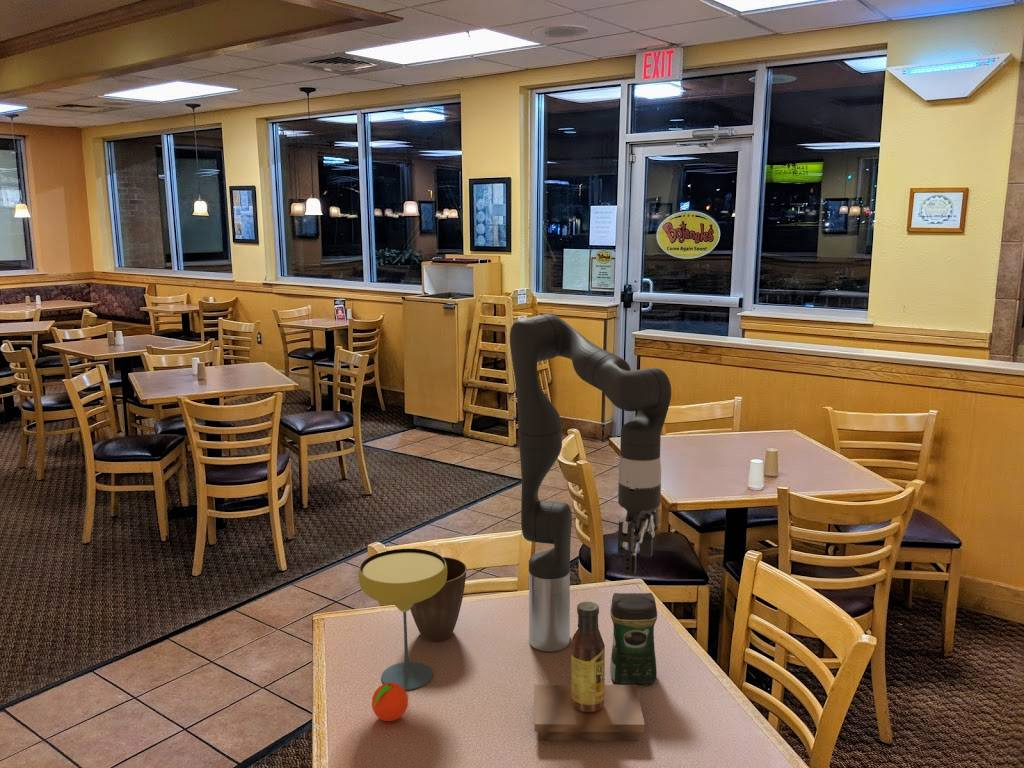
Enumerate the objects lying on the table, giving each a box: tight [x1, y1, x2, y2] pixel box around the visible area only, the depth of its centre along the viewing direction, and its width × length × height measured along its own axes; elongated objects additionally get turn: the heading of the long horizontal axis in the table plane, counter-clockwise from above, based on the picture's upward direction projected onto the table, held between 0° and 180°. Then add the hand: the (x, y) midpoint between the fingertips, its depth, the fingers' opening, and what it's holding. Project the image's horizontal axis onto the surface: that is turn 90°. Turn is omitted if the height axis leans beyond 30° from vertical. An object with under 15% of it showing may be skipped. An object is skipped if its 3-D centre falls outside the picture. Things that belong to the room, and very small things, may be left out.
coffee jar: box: [609, 592, 658, 687], centre depth 167 cm, size 10×8×19 cm
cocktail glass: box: [358, 548, 447, 691], centre depth 168 cm, size 18×18×25 cm
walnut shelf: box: [533, 684, 646, 742], centre depth 153 cm, size 20×13×4 cm, turn 89°
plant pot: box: [409, 556, 468, 642], centre depth 187 cm, size 15×15×16 cm
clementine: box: [371, 683, 409, 722], centre depth 155 cm, size 8×7×7 cm
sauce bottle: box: [570, 601, 606, 713], centre depth 151 cm, size 7×6×20 cm
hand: (637, 565), depth 147 cm, fingers open, 8 cm apart
